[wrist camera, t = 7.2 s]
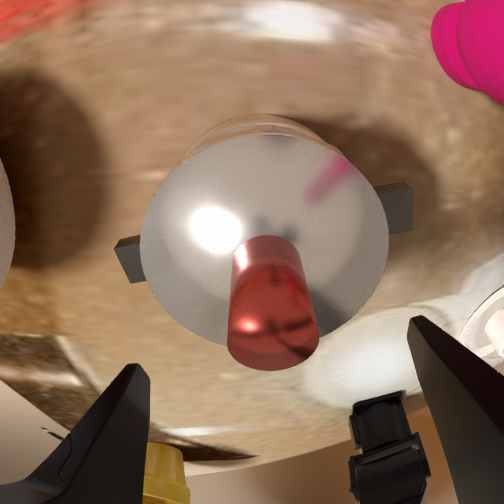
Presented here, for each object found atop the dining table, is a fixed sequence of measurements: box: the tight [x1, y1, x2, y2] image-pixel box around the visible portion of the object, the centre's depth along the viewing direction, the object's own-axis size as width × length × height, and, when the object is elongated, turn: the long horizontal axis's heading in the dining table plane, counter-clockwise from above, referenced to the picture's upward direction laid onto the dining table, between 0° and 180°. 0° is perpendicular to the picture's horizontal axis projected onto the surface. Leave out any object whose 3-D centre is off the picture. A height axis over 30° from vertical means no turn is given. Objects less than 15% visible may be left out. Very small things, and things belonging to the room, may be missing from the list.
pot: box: [114, 114, 413, 283], centre depth 17 cm, size 16×11×6 cm
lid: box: [140, 131, 389, 371], centre depth 13 cm, size 11×11×6 cm
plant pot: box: [142, 442, 190, 504], centre depth 37 cm, size 10×10×10 cm
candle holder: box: [458, 287, 504, 358], centre depth 26 cm, size 12×12×4 cm
